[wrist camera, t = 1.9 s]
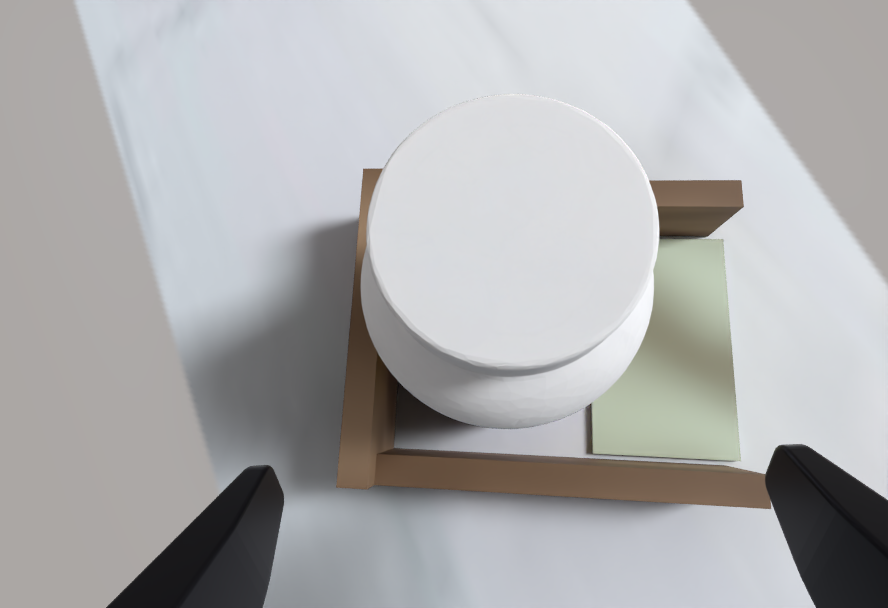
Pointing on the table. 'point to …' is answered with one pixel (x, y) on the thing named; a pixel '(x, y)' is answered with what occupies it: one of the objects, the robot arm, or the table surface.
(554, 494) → the bay
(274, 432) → the table surface
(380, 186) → the supplement bottle
